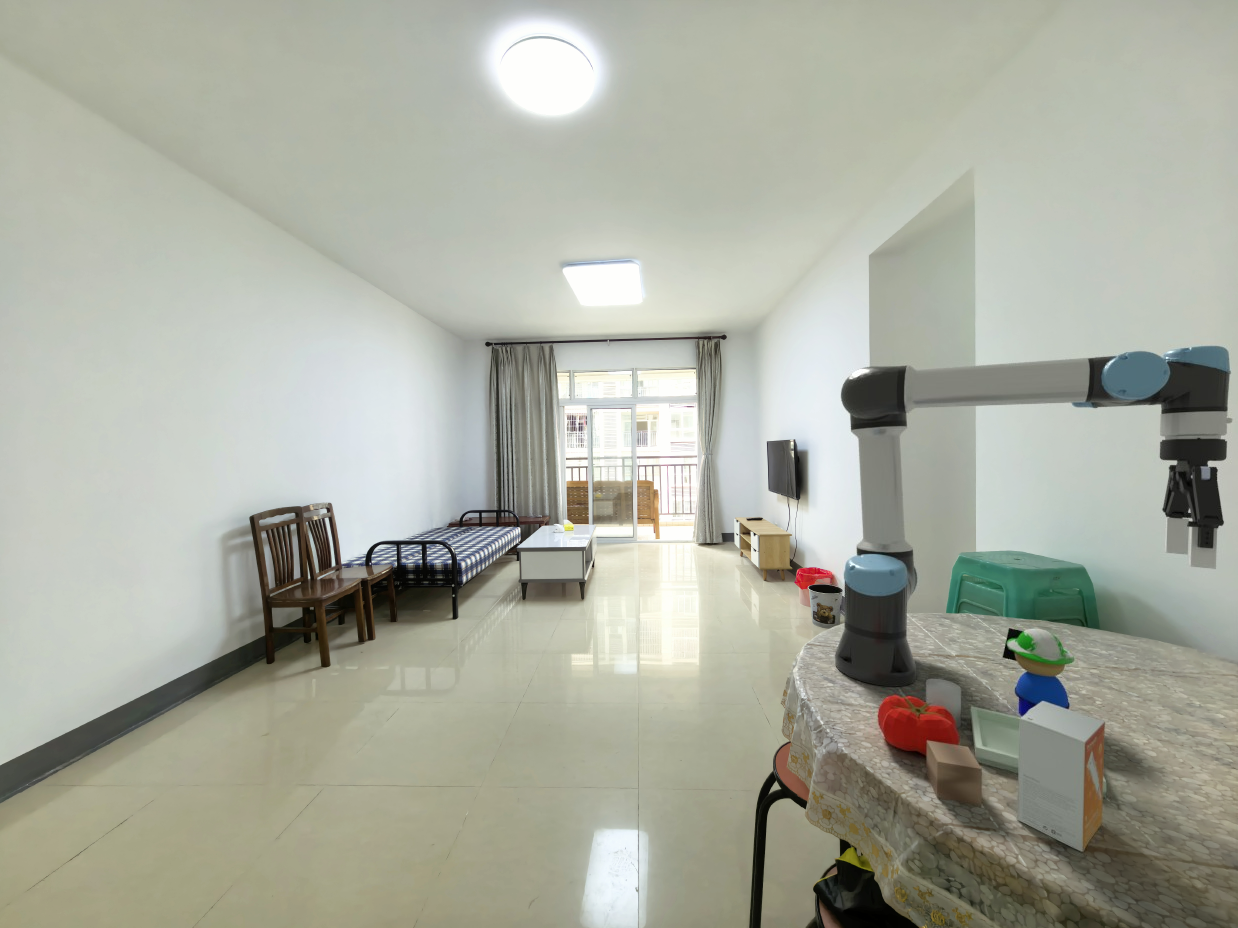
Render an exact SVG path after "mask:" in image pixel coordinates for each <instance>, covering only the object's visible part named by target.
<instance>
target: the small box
mask: <svg viewBox="0 0 1238 928" xmlns="http://www.w3.org/2000/svg"><path fill="white" fill-rule="evenodd" d="M1105 725H1106V722H1105V721H1104V720H1100V719H1097V718H1094V717H1091V716H1089V715H1086V714H1083V713H1080V712H1077V711H1074V710H1072V709H1071V710H1070V709H1069V710H1068V709H1066V708H1063V707H1060V706H1057V705H1054V704H1051V703H1048V702H1045V701H1041V702H1040V703H1039V704H1037V705H1036V706H1035V707H1033V708H1031V709H1030V710H1029V711H1028V712H1027V713H1026V714H1025V715H1023V716H1022V715H1021V718H1020V719H1019V765H1018V773H1017V774H1018V775H1017V777H1018V779H1017V780H1018V781H1017V783H1018V784H1017V806H1016V807H1017V808H1016V809H1017V811H1016V812H1017V813H1016V814H1017V815H1016V820H1018V821H1019V822H1021V823H1023V824H1025V825H1027V826H1029V827H1031V828H1033V829H1035V830H1037V831H1039V832H1041V833H1043V834H1045V835H1047V836H1048V837H1051V838H1052V839H1054V840H1056V841H1059V842H1060V843H1063V844H1064V845H1067V846H1069V847H1071V848H1072V849H1075V850H1077V851H1080V852H1081V853H1084V851H1085V849H1086V848H1087V846H1088V844H1089V843H1090V841H1091V840H1092V838H1093V836H1094V835H1096V832H1097V831H1098V829H1100V827H1101V826H1102V824H1103V799H1104V797H1103V776H1104V763H1105V762H1104V759H1105V733H1106V732H1105V729H1106V726H1105Z"/></svg>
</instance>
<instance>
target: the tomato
mask: <svg viewBox="0 0 1238 928" xmlns="http://www.w3.org/2000/svg"><path fill="white" fill-rule="evenodd" d="M933 703H934V702H933ZM929 704H932V703H928V704H927V703H926V701H923V700H921V699H919V698H918V697H914V696H905V697H904V696H903V697H901V696H899V695H898V694H894V695H890V696H887V697H885V698H884V699H883V700H882V702H881V704H880V705H879V708H878V711H877V721H878V722H877V723H878V726H879V728H880V730H881V733H882V734H883V736H884V739H885V741H886V742H887V743H888V744H890V745H891V746H893V747H896V748H897V749H900V750H903V751H905V752H918V753H920V754H922V755H924V756H926V757H927V740H928V741H934V742H940V743H947V744H953V745H959V746H960V734H959V732H958V729H957V728H956V722H955V720H954V718H953V716H952V714H951V713H950V712H949V711H947V710H946V709H945V708H943V707H941V706H929Z"/></svg>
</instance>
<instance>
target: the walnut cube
mask: <svg viewBox="0 0 1238 928" xmlns="http://www.w3.org/2000/svg"><path fill="white" fill-rule="evenodd" d="M925 765H926V768H925V769H926V770H925V771H926V773H925V774H926V776H927V779H928V781H929V783H930V785H931V789H932V790H933V792H934V795H935V797H936V798H937V799H941V800H942V799H943V800H947V801H951V800H953V801H952V802H958V803H963V804H967V805H968V804H969V805H972V806H973V805H974V806H978V807H982V795H983V794H982V792H983V791H982V788H983V787H982V785H983V784H982V783H983V782H982V779H983V776H982V775H983V769H982V766H981V765H980V764H979V762H977V760H976V759H975V755H974V754H973V752H972V751H971V750H970V748H969V746H967V745H966V746H964V745H960V744H959V745H953V744H947V743H940V742H934V741H928V740H927V756H926V764H925Z"/></svg>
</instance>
